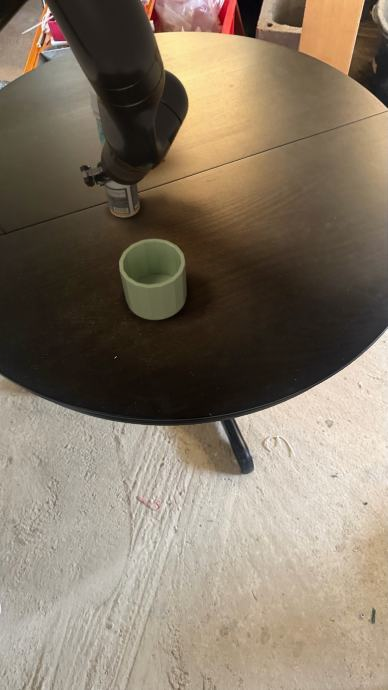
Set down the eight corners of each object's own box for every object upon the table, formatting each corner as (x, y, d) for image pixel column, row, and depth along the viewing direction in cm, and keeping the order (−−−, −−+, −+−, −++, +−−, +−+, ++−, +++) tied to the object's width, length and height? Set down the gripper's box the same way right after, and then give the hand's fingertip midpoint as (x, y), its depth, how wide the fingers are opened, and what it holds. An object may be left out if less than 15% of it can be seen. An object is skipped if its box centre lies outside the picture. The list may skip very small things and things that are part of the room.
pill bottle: (126, 194, 92) (119, 148, 83) (146, 208, 89) (140, 162, 81) (103, 208, 89) (93, 163, 81) (123, 223, 87) (114, 178, 79)
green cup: (128, 323, 75) (121, 290, 68) (124, 277, 80) (117, 242, 73) (190, 316, 75) (188, 283, 69) (182, 270, 81) (180, 235, 74)
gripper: (167, 115, 70) (148, 143, 86) (72, 139, 67) (70, 164, 83) (182, 167, 71) (160, 185, 87) (90, 193, 68) (85, 207, 85)
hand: (116, 175), depth 85 cm, fingers closed on pill bottle, 5 cm apart
